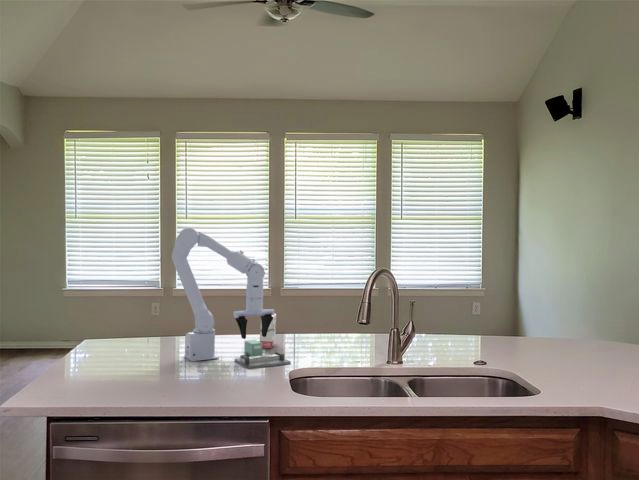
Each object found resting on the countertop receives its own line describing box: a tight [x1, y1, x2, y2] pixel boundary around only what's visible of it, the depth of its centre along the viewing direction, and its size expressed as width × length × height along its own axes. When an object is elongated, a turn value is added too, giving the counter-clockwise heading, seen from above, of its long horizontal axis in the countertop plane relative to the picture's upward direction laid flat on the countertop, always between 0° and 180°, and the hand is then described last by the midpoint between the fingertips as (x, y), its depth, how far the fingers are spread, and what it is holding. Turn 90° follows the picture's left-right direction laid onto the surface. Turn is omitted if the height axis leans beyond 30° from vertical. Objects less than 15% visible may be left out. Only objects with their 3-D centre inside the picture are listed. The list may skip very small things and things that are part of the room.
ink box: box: [259, 313, 277, 349], centre depth 204 cm, size 9×5×12 cm, turn 177°
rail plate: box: [234, 350, 292, 370], centre depth 178 cm, size 15×11×3 cm
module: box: [243, 339, 264, 357], centre depth 187 cm, size 4×6×5 cm, turn 31°
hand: (253, 337), depth 187 cm, fingers open, 7 cm apart
